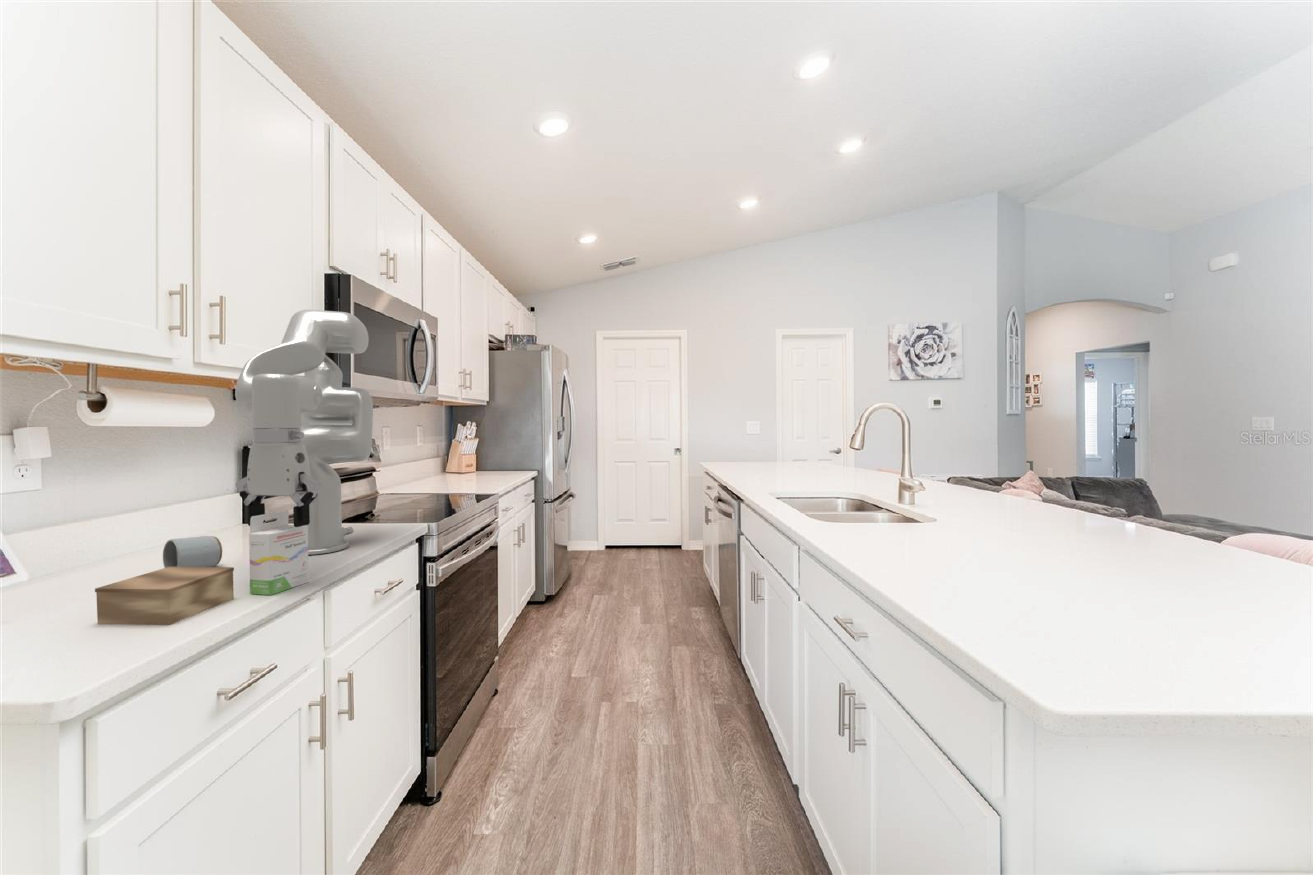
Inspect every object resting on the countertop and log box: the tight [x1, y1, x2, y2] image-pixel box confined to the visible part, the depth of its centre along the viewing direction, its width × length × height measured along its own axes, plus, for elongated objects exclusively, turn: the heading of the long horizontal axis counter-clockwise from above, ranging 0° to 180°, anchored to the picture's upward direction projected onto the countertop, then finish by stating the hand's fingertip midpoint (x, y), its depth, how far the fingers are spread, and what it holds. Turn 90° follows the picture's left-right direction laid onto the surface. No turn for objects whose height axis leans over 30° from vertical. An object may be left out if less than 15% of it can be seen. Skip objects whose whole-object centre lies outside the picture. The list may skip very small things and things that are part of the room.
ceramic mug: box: [162, 535, 223, 568], centre depth 112 cm, size 11×8×8 cm
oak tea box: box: [94, 566, 235, 626], centre depth 88 cm, size 12×12×6 cm
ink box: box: [248, 509, 309, 596], centre depth 100 cm, size 9×5×15 cm, turn 168°
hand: (279, 525), depth 99 cm, fingers open, 9 cm apart
